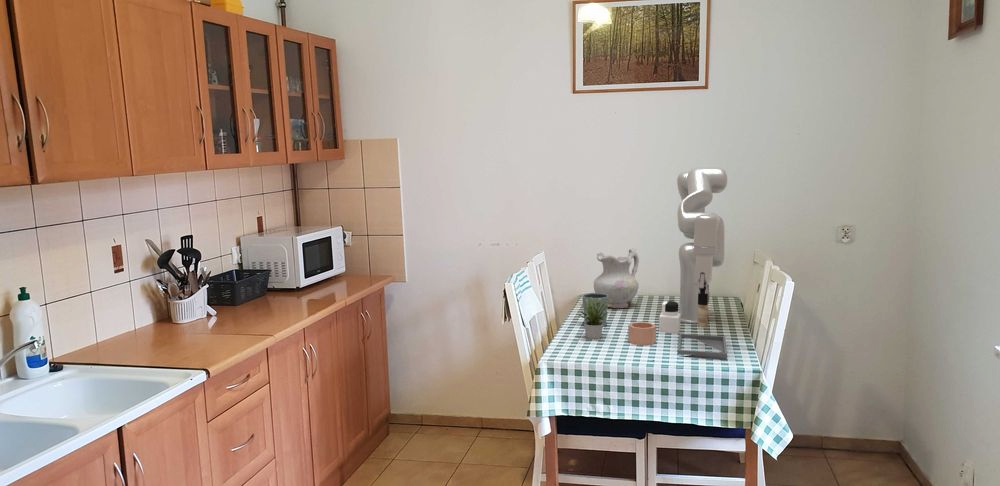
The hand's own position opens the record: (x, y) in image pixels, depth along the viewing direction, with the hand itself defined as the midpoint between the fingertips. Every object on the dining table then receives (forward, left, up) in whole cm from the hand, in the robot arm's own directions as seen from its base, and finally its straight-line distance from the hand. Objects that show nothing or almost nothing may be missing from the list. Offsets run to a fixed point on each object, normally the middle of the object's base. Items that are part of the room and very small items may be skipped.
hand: (703, 303), depth 250 cm
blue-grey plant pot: (+22, -43, -17) cm, 51 cm away
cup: (+17, -12, -16) cm, 27 cm away
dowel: (0, 0, -8) cm, 8 cm away
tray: (0, 0, -16) cm, 16 cm away
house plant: (+30, -22, -17) cm, 41 cm away
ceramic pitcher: (-1, -72, -17) cm, 74 cm away
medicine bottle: (0, -23, -17) cm, 29 cm away
